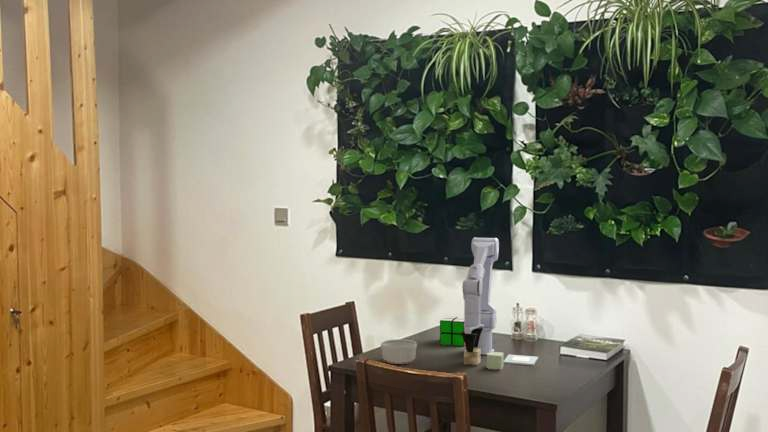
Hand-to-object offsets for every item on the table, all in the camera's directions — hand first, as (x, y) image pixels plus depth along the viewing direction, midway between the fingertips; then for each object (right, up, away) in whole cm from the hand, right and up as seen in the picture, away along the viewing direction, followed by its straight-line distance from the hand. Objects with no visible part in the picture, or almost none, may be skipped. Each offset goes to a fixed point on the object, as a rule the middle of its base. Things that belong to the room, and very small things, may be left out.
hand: (472, 349), depth 267 cm
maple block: (0, -5, 0) cm, 5 cm away
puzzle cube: (-3, -3, +32) cm, 33 cm away
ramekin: (-26, -5, +4) cm, 27 cm away
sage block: (+7, -5, -5) cm, 11 cm away
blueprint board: (+18, -5, +3) cm, 19 cm away
